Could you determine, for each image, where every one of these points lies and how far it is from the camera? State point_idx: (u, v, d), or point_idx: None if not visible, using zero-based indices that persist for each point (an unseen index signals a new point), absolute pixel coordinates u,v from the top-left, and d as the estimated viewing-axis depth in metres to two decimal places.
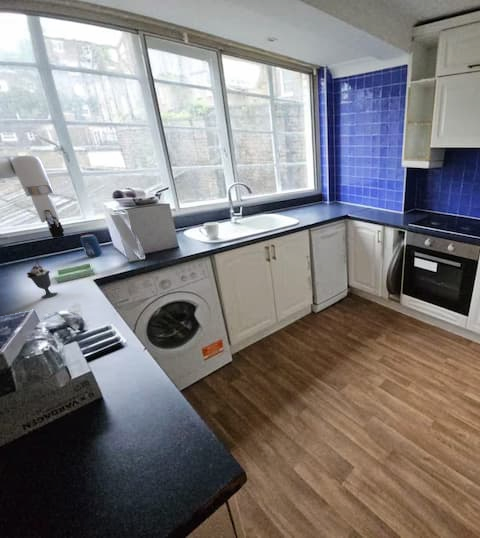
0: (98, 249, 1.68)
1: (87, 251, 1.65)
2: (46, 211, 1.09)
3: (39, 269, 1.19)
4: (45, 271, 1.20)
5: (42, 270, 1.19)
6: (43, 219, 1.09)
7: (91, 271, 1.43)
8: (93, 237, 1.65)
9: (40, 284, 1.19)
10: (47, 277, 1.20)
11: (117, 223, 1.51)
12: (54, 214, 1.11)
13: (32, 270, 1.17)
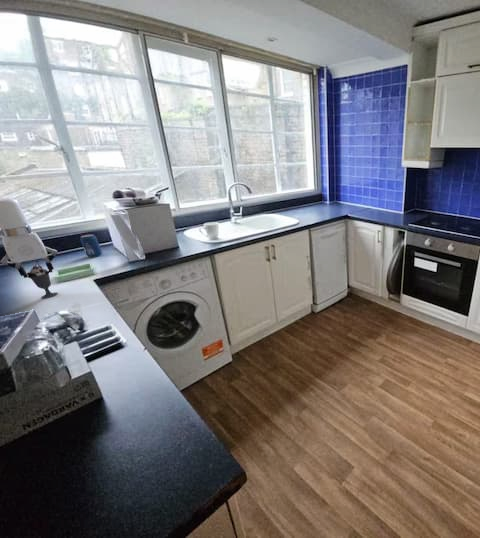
0: (98, 249, 1.68)
1: (87, 251, 1.65)
2: None
3: (39, 269, 1.19)
4: (45, 271, 1.20)
5: (42, 270, 1.19)
6: None
7: (91, 271, 1.43)
8: (93, 237, 1.65)
9: (40, 284, 1.19)
10: (47, 277, 1.20)
11: (117, 223, 1.51)
12: None
13: (32, 270, 1.17)
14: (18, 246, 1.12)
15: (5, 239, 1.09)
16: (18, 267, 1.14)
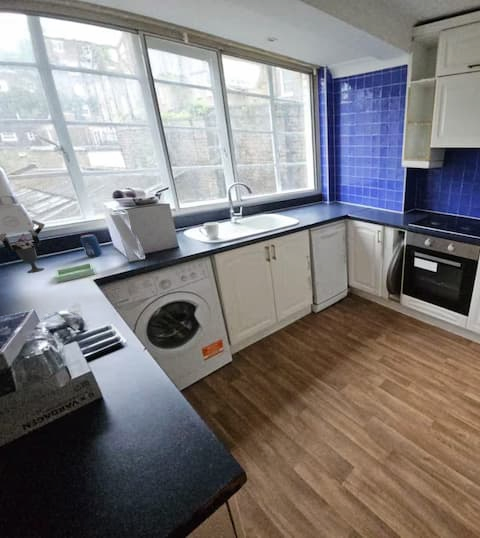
0: (98, 249, 1.68)
1: (87, 251, 1.65)
2: None
3: (25, 242, 1.14)
4: (31, 245, 1.16)
5: (28, 243, 1.15)
6: (33, 225, 1.14)
7: (91, 271, 1.43)
8: (93, 237, 1.65)
9: (26, 258, 1.15)
10: (33, 251, 1.16)
11: (117, 223, 1.51)
12: None
13: (17, 243, 1.13)
14: (3, 216, 1.07)
15: None
16: (2, 239, 1.10)
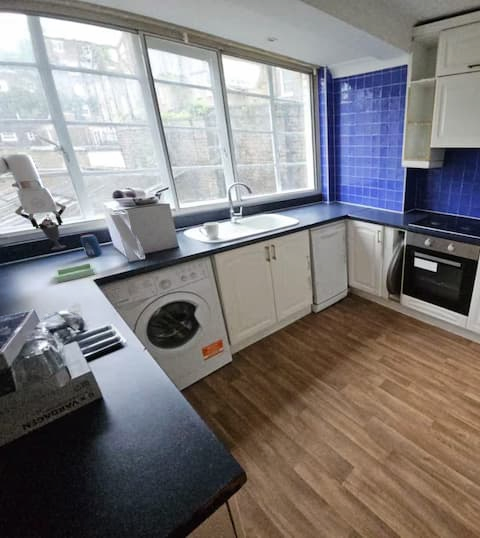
0: (98, 249, 1.68)
1: (87, 251, 1.65)
2: None
3: (49, 222, 1.30)
4: (55, 224, 1.31)
5: (52, 223, 1.31)
6: (56, 207, 1.29)
7: (91, 271, 1.43)
8: (93, 237, 1.65)
9: (50, 236, 1.30)
10: (56, 229, 1.31)
11: (117, 223, 1.51)
12: None
13: (43, 222, 1.28)
14: (31, 198, 1.23)
15: (20, 191, 1.21)
16: (31, 218, 1.26)
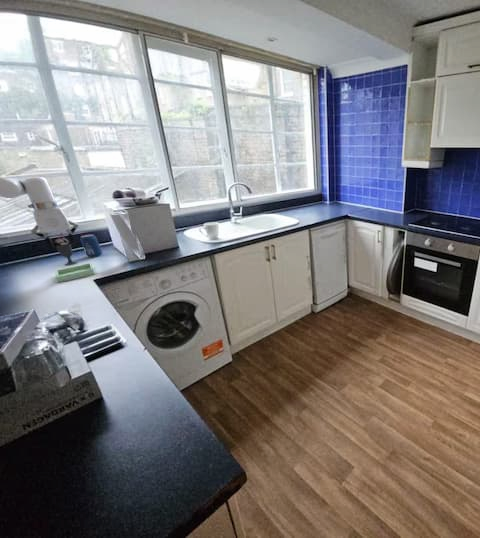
0: (98, 249, 1.68)
1: (87, 251, 1.65)
2: None
3: (63, 239, 1.37)
4: (68, 242, 1.38)
5: (65, 240, 1.37)
6: (69, 225, 1.36)
7: (91, 271, 1.43)
8: (93, 237, 1.65)
9: (64, 253, 1.37)
10: (69, 247, 1.38)
11: (117, 223, 1.51)
12: None
13: (57, 240, 1.35)
14: (46, 218, 1.30)
15: (35, 212, 1.27)
16: (45, 237, 1.32)
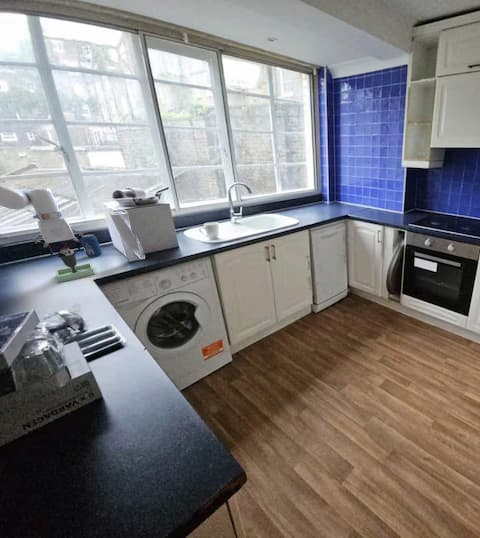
0: (98, 249, 1.68)
1: (87, 251, 1.65)
2: (72, 229, 1.38)
3: (67, 250, 1.39)
4: (72, 252, 1.40)
5: (70, 251, 1.40)
6: (73, 235, 1.38)
7: (91, 271, 1.43)
8: (93, 237, 1.65)
9: (68, 263, 1.39)
10: (74, 257, 1.40)
11: (117, 223, 1.51)
12: (72, 231, 1.40)
13: (62, 251, 1.37)
14: (51, 228, 1.32)
15: (40, 222, 1.29)
16: (46, 245, 1.33)
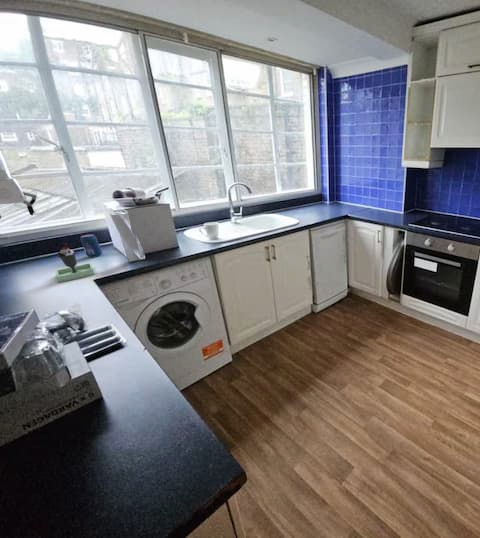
0: (98, 249, 1.68)
1: (87, 251, 1.65)
2: None
3: (67, 250, 1.39)
4: (72, 252, 1.40)
5: (70, 251, 1.39)
6: (25, 198, 1.27)
7: (91, 271, 1.43)
8: (93, 237, 1.65)
9: (68, 263, 1.39)
10: (73, 257, 1.40)
11: (117, 223, 1.51)
12: (24, 195, 1.29)
13: (61, 251, 1.37)
14: None
15: None
16: None
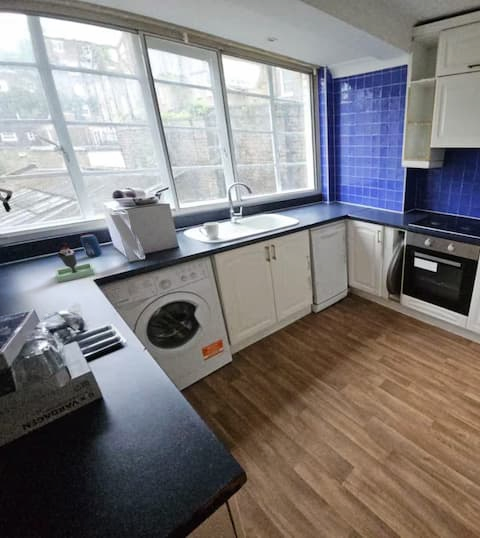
0: (98, 249, 1.68)
1: (87, 251, 1.65)
2: None
3: (67, 250, 1.39)
4: (72, 252, 1.40)
5: (70, 251, 1.39)
6: (0, 195, 1.24)
7: (91, 271, 1.43)
8: (93, 237, 1.65)
9: (68, 263, 1.39)
10: (73, 257, 1.40)
11: (117, 223, 1.51)
12: None
13: (61, 251, 1.37)
14: None
15: None
16: None
